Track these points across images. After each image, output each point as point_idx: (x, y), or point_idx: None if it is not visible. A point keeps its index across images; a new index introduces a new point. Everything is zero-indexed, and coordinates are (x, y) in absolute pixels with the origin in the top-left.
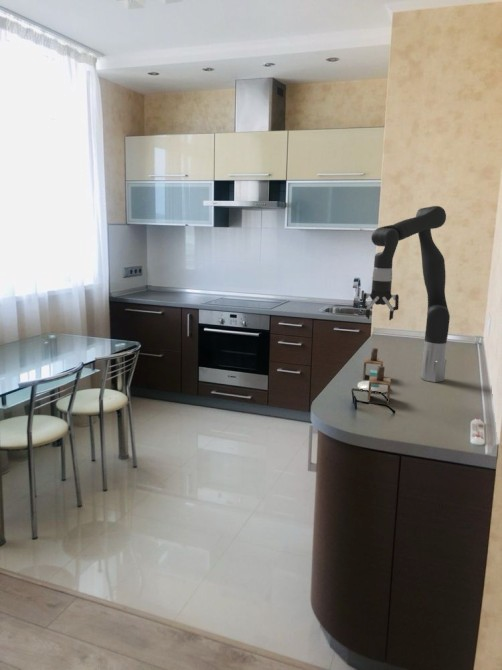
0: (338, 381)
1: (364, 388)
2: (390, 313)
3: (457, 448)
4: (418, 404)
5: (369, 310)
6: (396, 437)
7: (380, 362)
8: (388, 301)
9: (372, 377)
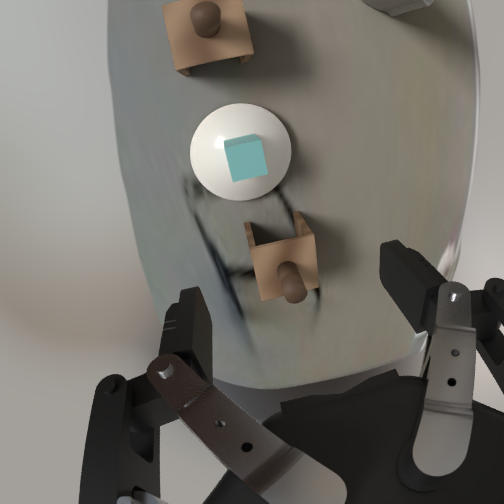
0: (123, 141)
1: (224, 197)
2: (412, 316)
3: (395, 357)
4: (367, 220)
5: (209, 385)
6: (326, 373)
7: (241, 44)
8: (465, 373)
9: (260, 257)
